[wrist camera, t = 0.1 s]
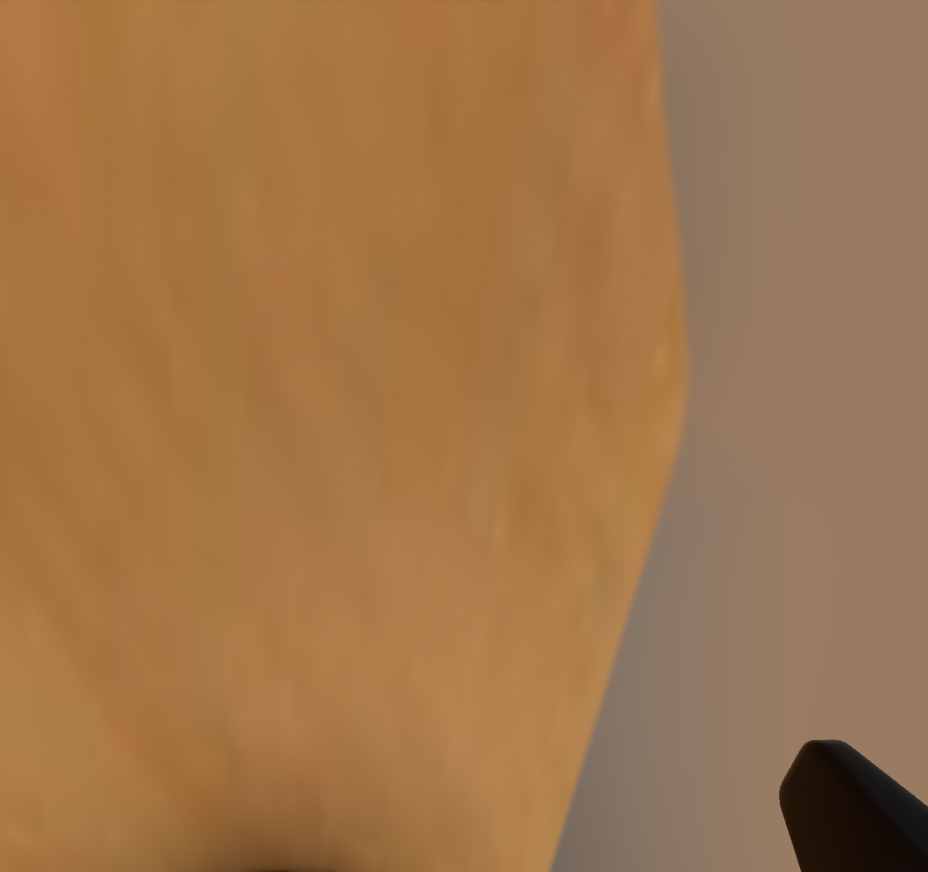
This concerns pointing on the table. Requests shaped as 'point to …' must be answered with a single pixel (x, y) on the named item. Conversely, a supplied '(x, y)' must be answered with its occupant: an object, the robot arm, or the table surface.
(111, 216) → the table surface
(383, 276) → the table surface
